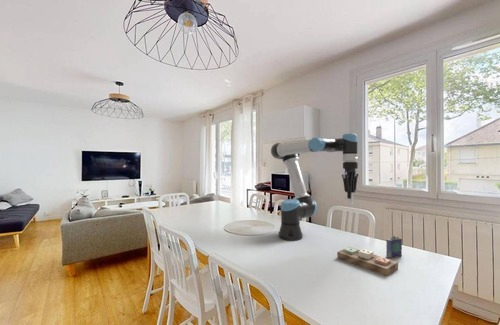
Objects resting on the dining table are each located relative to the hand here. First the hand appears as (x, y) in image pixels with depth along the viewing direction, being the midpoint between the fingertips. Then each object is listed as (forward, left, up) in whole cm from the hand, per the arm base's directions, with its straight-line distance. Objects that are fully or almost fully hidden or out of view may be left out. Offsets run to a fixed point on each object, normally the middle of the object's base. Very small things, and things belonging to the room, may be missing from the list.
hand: (350, 204), depth 127 cm
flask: (+19, +7, -25) cm, 32 cm away
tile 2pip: (+14, -12, -21) cm, 29 cm away
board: (+14, -12, -24) cm, 31 cm away
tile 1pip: (+7, -12, -23) cm, 27 cm away
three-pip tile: (+22, -12, -23) cm, 34 cm away
